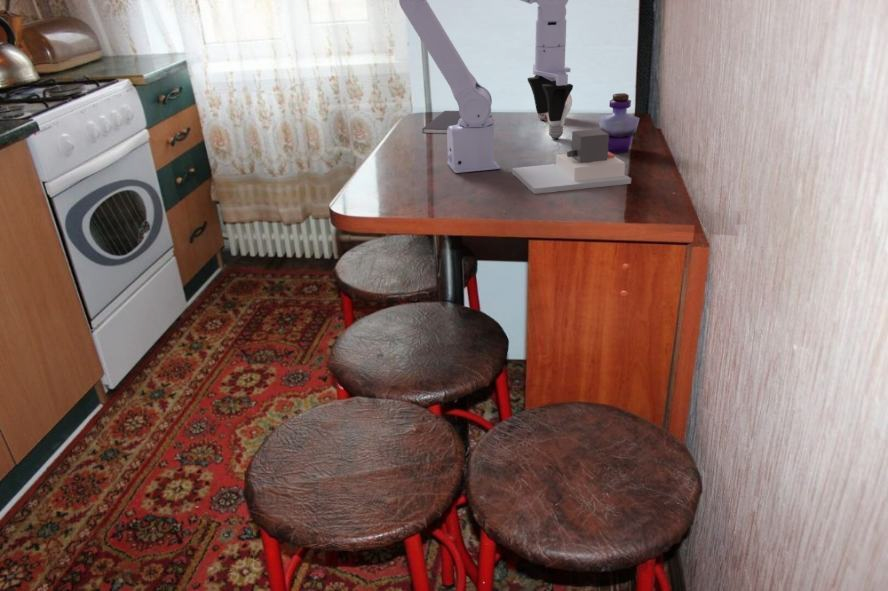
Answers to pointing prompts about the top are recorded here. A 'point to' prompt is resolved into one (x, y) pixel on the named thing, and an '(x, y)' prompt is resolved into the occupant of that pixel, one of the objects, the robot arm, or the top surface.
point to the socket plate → (590, 167)
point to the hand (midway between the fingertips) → (548, 116)
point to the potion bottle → (619, 124)
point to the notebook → (442, 122)
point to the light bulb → (557, 126)
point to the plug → (589, 146)
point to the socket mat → (560, 179)
